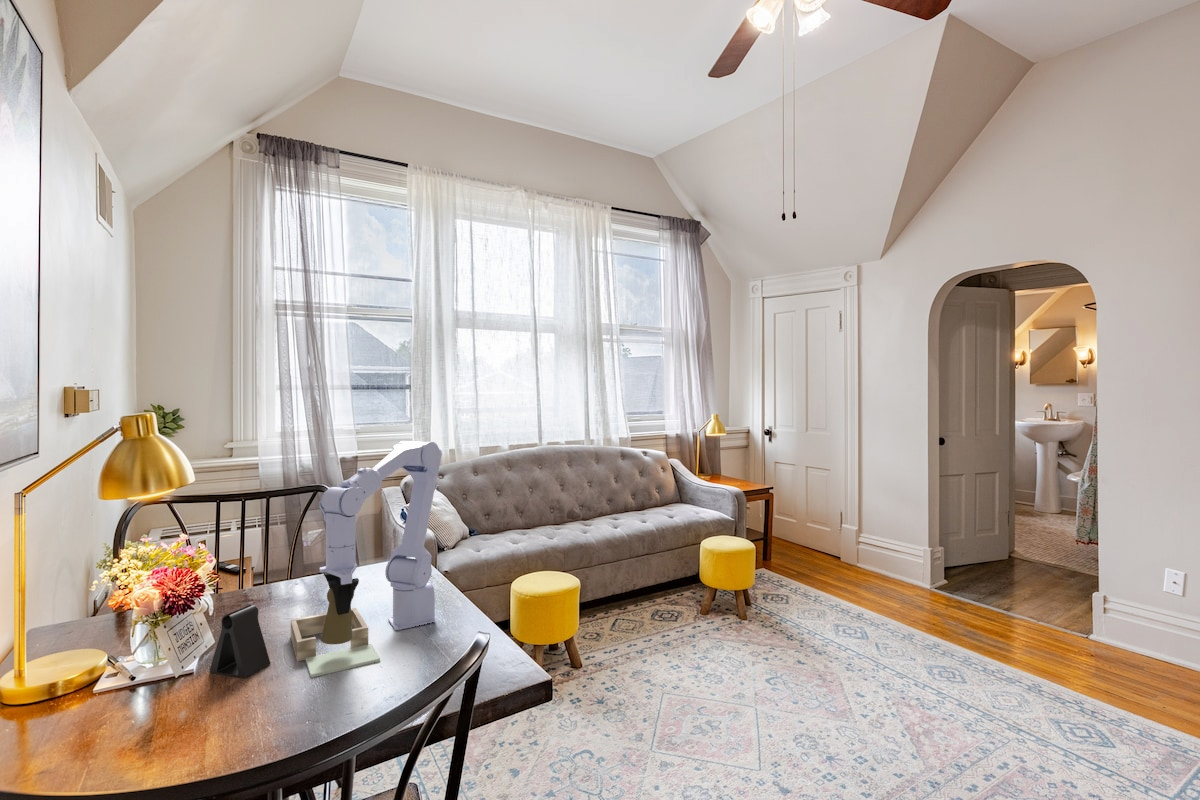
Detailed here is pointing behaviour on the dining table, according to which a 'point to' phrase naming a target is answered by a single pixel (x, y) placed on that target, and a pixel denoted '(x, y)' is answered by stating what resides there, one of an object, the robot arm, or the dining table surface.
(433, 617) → the robot arm
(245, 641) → the black triangular stand
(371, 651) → the sage mat
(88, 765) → the dining table surface
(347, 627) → the olive game pawn
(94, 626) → the dining table surface
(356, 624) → the access bay
